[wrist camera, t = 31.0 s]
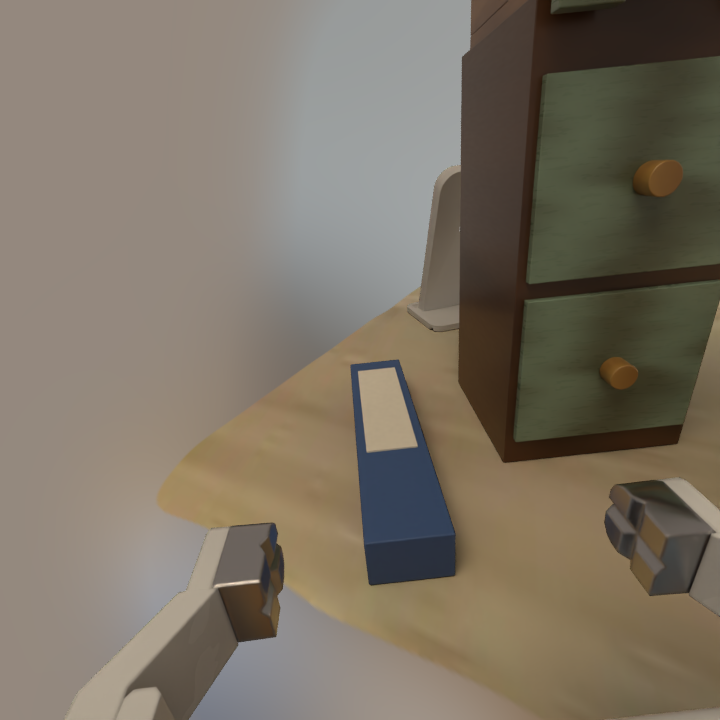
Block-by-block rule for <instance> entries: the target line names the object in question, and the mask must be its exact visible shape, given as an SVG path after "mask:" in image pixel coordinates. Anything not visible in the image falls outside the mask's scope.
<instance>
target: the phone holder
mask: <svg viewBox="0 0 720 720" xmlns="http://www.w3.org/2000/svg"><path fill="white" fill-rule="evenodd" d="M460 198H461V165H457V166H452V167H449V168H447V169H446V170H444V171H443V172H442V173H441V174H440V175H439V177H438V178H437V180H436V183H435V186H434V192H433V200H432V208H431V215H430V223H429V230H428V238H427V245H426V253H425V261H424V268H423V276H422V283H421V291H420V299H419V302H416V303H411V304H409V305H408V306H407V311H408V313H410V314H411V315H412V316H414V317H415V318H416V319H417V320H419V321H420V322H421V323H422V324H424V325H425V326H426V327H427V328H429V329H433V331H447V330H452V329H457V328H459V289H460V231H459V228H460Z"/></svg>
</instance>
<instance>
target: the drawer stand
mask: <svg viewBox="0 0 720 720" xmlns="http://www.w3.org/2000/svg"><path fill="white" fill-rule="evenodd" d="M461 108H462V109H461V198H460V289H459V380H458V382H459V384H460V386H461V388H462V389H463V391H464V393H465V395H466V396H467V398H468V400H469V402H470V404H471V405H472V407H473V409H474V411H475V412H476V414H477V416H478V418H479V420H480V421H481V423H482V425H483V427H484V428H485V430H486V432H487V434H488V436H489V437H490V439H491V441H492V443H493V444H494V446H495V448H496V450H497V452H498V453H499V455H500V457H501V459H502V460H503V462H513V461H522V460H531V459H540V458H549V457H558V456H568V455H577V454H586V453H595V452H604V451H613V450H623V449H632V448H641V447H650V446H659V445H668V444H677V443H678V440H679V437H680V433H681V430H682V427H683V423H684V420H685V416H686V413H687V410H688V406H689V403H690V400H691V396H692V393H693V389H694V386H695V383H696V379H697V376H698V372H699V369H700V366H701V362H702V359H703V355H704V352H705V349H706V345H707V342H708V338H709V335H710V332H711V328H712V325H713V321H714V318H715V315H716V311H717V308H718V304H719V301H720V0H472V1H471V48H470V51H468V52H467V53H466V54H465V55H464V56H463V57H462V106H461Z"/></svg>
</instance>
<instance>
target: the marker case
mask: <svg viewBox="0 0 720 720" xmlns="http://www.w3.org/2000/svg"><path fill="white" fill-rule="evenodd" d="M351 379H352V392H353V405H354V419H355V432H356V445H357V458H358V471H359V485H360V498H361V511H362V524H363V537H364V548H365V556H366V564H367V572H368V580H369V584H370V585H375V584H384V583H393V582H402V581H411V580H420V579H429V578H438V577H447V576H454V575H455V536H456V534H455V531H454V528H453V525H452V521H451V518H450V515H449V512H448V509H447V506H446V503H445V500H444V497H443V494H442V491H441V488H440V485H439V482H438V478H437V475H436V472H435V469H434V466H433V463H432V460H431V457H430V454H429V451H428V448H427V445H426V442H425V439H424V436H423V432H422V429H421V426H420V423H419V420H418V417H417V414H416V411H415V408H414V405H413V402H412V399H411V396H410V393H409V389H408V386H407V383H406V380H405V377H404V374H403V371H402V368H401V365H400V362H399V360H390V361H381V362H371V363H362V364H353V365H351Z"/></svg>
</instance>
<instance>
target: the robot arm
mask: <svg viewBox="0 0 720 720" xmlns="http://www.w3.org/2000/svg"><path fill="white" fill-rule="evenodd" d="M609 498H610V499H611V501H612V502H613V503H614V504H613V505H612V506H611V507H610V508H609V509H608V510H607V511H606V514H605V521H604V523H605V528H606V533H607V535H608V537H609V540H610V542H611V543H612V545H613V546H614V548H615V549H616V551H617V552H618V553H620V554H621V555H623V556H625V557H626V558H628V559H630V570H631V571H632V573H633V574H634V575H635V577H636V578H637V579H638V581H639V582H640V584H641V585H642V586H643V588H644V589H645V590H646V592H647V593H648V594H649V596H656V595H668V594H681V593H689V596H691V597H692V598H694V599H695V600H696V601H698V602H699V603H701V604H702V605H704V606H705V607H706V608H708V609H709V610H711V611H712V612H714V613H715V614H716V615H718V616H719V617H720V510H719V509H718V508H717V507H716V506H715V505H713V504H712V503H711V502H710V501H709V500H708V499H707V498H706V497H705V496H703V495H702V494H701V493H700V492H699V491H698V490H697V489H696V488H694V487H693V486H692V485H691V484H690V483H689V482H688V481H686V480H685V479H682V478H680V477H676V478H668V479H659V480H650V481H642V482H634V483H625V484H617V485H614V486H613V487H612V489H611V491H610V495H609ZM277 536H278V532H277V529H276V525H275V523H261V524H249V525H237V526H230V527H218V528H211V529H210V530H209V531H208V533H207V534H206V536H205V539H204V542H203V545H202V548H201V551H200V553H199V556H198V559H197V561H196V564H195V567H194V570H193V572H192V575H191V578H190V581H189V583H188V586H187V589H186V591H184V592H179V593H178V594H177V595H176V596H175V597H174V598H173V599H172V600H171V601H170V602H169V603H168V604H167V605H166V606H165V607H164V608H163V609H161V610H160V612H159V613H157V615H156V616H155V617H153V618H152V619H151V620H150V621H149V622H148V623H147V624H146V625H145V626H144V627H143V628H142V629H141V630H140V631H139V632H138V633H137V634H136V635H135V636H134V637H133V638H132V639H131V640H130V641H129V642H128V643H127V644H126V645H125V646H124V647H123V648H122V649H121V650H120V651H119V652H118V653H117V654H116V655H115V656H114V657H113V658H112V659H111V660H110V661H109V662H108V663H107V664H106V665H105V666H104V667H103V668H102V669H101V670H100V671H99V672H98V673H97V674H96V675H95V676H94V677H93V678H92V679H91V680H90V681H89V682H88V683H87V684H86V685H85V686H84V687H83V688H82V689H81V690H80V691H79V692H78V693H77V694H76V696H75V698H74V700H73V702H72V704H71V706H70V708H69V710H68V712H67V714H66V716H65V718H64V720H189V718H190V717H191V715H192V714H193V712H194V711H195V709H196V708H197V706H198V705H199V703H200V702H201V700H202V699H203V697H204V696H205V694H206V693H207V691H208V690H209V688H210V687H211V685H212V684H213V682H214V680H215V679H216V678H217V676H218V675H219V673H220V672H221V670H222V669H223V667H224V666H225V664H226V663H227V661H228V660H229V658H230V657H231V655H232V654H233V652H234V651H235V649H236V648H237V646H238V642H244V641H251V640H258V639H265V638H273V637H276V635H277V627H278V621H279V613H280V605H279V601H278V598H277V595H278V594H279V593H280V592H281V591H282V589H283V582H284V558H283V552H282V548H281V546H279V545H278V544H277ZM602 720H720V707H711V708H702V709H693V710H684V711H675V712H666V713H656V714H647V715H638V716H629V717H620V718H611V719H602Z"/></svg>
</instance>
